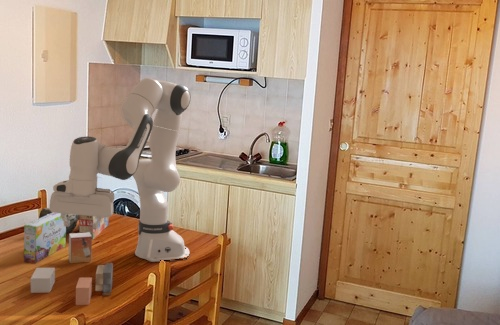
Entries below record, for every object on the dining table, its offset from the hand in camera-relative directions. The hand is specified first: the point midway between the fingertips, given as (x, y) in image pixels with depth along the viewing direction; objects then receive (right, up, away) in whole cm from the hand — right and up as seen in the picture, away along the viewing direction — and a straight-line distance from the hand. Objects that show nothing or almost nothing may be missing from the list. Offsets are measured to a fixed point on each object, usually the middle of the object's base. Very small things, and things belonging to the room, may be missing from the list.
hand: (81, 227), depth 171 cm
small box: (-11, -17, +33) cm, 39 cm away
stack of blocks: (-16, -11, +67) cm, 70 cm away
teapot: (-29, -11, +62) cm, 69 cm away
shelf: (-5, -22, +7) cm, 24 cm away
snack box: (-26, -15, +37) cm, 48 cm away
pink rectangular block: (+1, -24, -2) cm, 24 cm away
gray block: (-14, -21, +5) cm, 26 cm away
